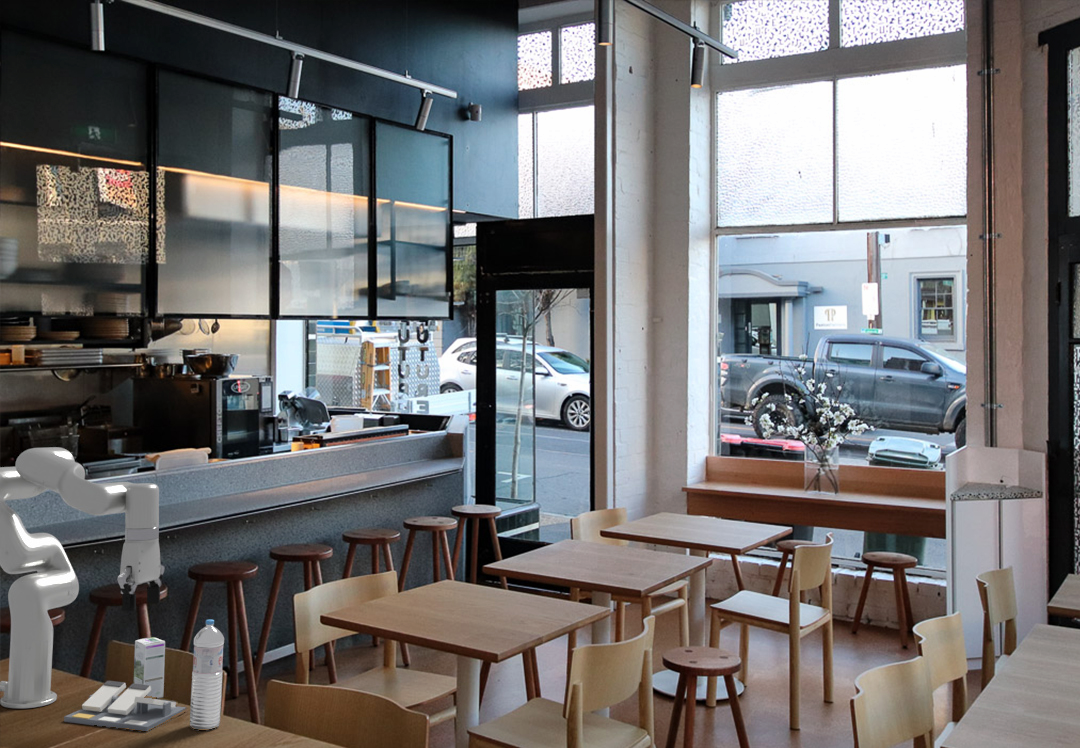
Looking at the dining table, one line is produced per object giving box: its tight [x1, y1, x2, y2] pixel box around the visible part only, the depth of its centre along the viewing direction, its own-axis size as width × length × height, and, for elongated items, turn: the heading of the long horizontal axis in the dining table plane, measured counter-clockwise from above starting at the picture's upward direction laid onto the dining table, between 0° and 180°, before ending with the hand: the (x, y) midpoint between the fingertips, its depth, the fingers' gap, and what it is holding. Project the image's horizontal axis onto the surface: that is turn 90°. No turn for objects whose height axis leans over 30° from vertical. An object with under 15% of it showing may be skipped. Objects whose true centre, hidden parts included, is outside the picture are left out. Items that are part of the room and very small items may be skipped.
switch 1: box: [81, 680, 127, 712], centre depth 250 cm, size 5×10×2 cm, turn 167°
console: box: [63, 693, 187, 732], centre depth 248 cm, size 22×16×4 cm
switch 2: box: [134, 697, 177, 707], centre depth 247 cm, size 5×10×1 cm, turn 167°
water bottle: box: [189, 618, 225, 730], centre depth 243 cm, size 7×7×25 cm
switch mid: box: [108, 683, 151, 715], centre depth 249 cm, size 5×10×2 cm, turn 167°
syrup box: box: [132, 636, 166, 699], centre depth 265 cm, size 6×6×14 cm
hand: (141, 606), depth 247 cm, fingers open, 9 cm apart
